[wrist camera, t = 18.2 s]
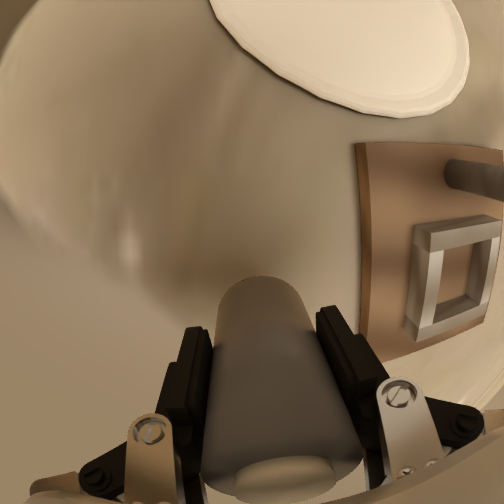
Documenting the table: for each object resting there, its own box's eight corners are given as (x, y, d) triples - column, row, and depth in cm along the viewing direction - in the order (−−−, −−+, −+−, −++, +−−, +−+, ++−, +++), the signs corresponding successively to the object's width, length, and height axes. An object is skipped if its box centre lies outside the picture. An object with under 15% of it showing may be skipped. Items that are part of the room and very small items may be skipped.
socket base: (354, 143, 15) (484, 139, 5) (490, 149, 14) (583, 165, 5) (357, 356, 20) (407, 456, 10) (474, 315, 20) (535, 371, 10)
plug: (209, 283, 12) (172, 465, 4) (300, 269, 12) (384, 434, 4) (227, 354, 13) (222, 514, 5) (305, 341, 13) (356, 495, 5)
